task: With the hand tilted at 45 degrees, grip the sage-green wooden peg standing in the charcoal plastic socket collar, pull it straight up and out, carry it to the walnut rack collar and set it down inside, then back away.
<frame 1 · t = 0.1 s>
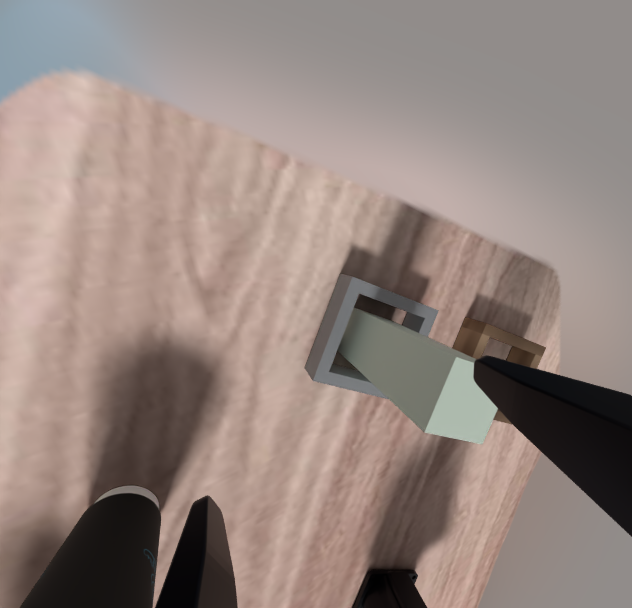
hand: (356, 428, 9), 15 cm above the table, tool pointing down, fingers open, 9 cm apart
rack: (479, 366, 31), on the table
socket: (364, 335, 26), on the table
dixie cup: (126, 510, 23), on the table
peg: (402, 359, 21), in the socket
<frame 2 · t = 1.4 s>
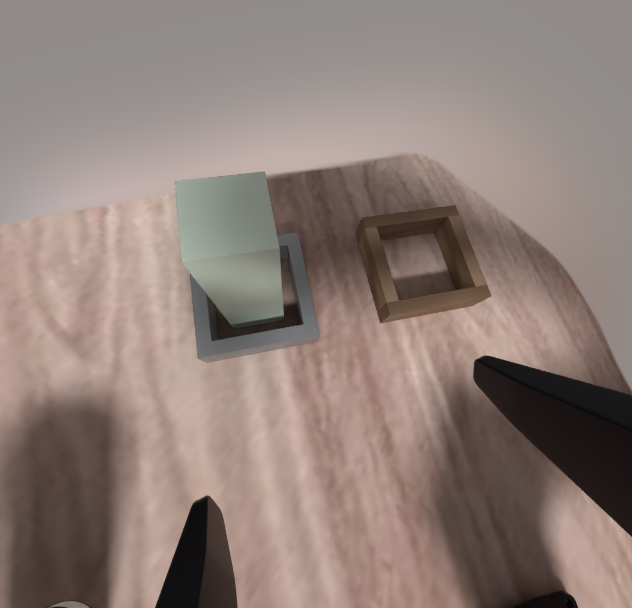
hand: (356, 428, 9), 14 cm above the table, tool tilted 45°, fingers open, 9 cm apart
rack: (412, 268, 26), on the table
socket: (255, 300, 24), on the table
peg: (245, 270, 19), in the socket
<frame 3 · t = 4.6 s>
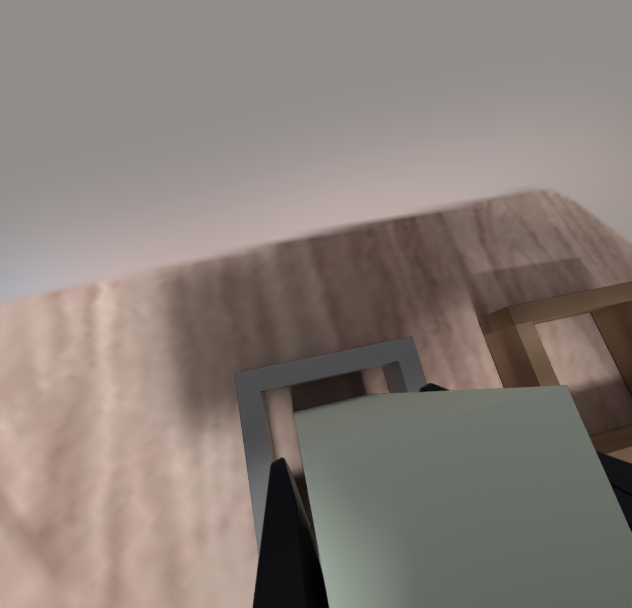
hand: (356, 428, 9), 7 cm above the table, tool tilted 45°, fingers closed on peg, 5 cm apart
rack: (570, 375, 17), on the table
socket: (339, 443, 15), on the table
peg: (370, 472, 9), in the socket, touching gripper
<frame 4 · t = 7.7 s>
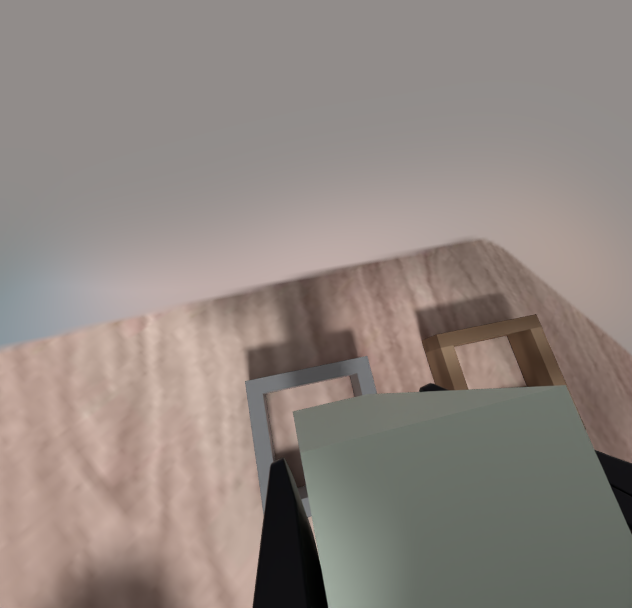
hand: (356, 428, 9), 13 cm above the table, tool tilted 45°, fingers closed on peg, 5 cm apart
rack: (487, 382, 24), on the table
socket: (317, 430, 21), on the table
peg: (369, 471, 9), point 13 cm above the table, touching gripper
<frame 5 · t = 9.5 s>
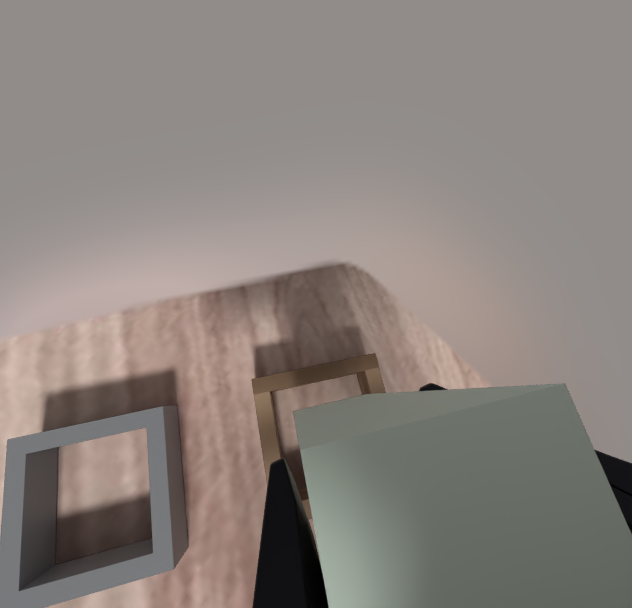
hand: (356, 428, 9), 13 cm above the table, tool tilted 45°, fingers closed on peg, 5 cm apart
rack: (324, 428, 21), on the table
socket: (113, 489, 19), on the table
peg: (369, 471, 9), point 12 cm above the table, touching gripper
when the fingers open (8 cm above the table, at t = 10.9 s): peg drops 1 cm, resting in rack.
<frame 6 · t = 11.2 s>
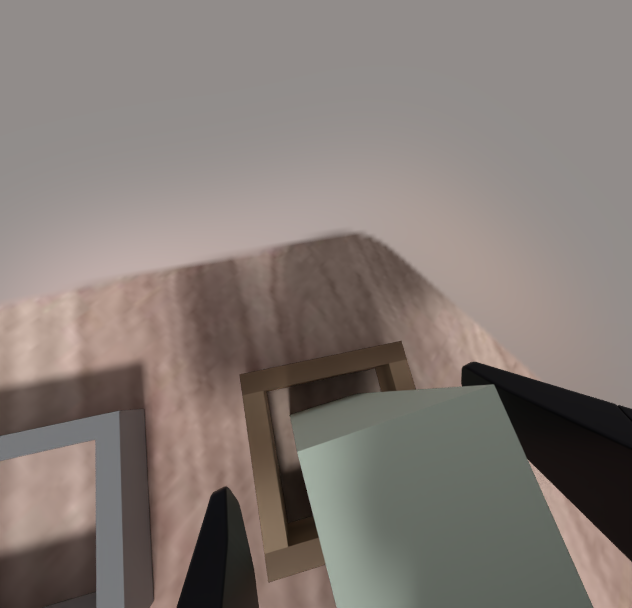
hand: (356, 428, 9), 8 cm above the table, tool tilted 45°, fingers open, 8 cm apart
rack: (335, 439, 16), on the table
socket: (54, 521, 14), on the table
peg: (360, 463, 11), in the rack
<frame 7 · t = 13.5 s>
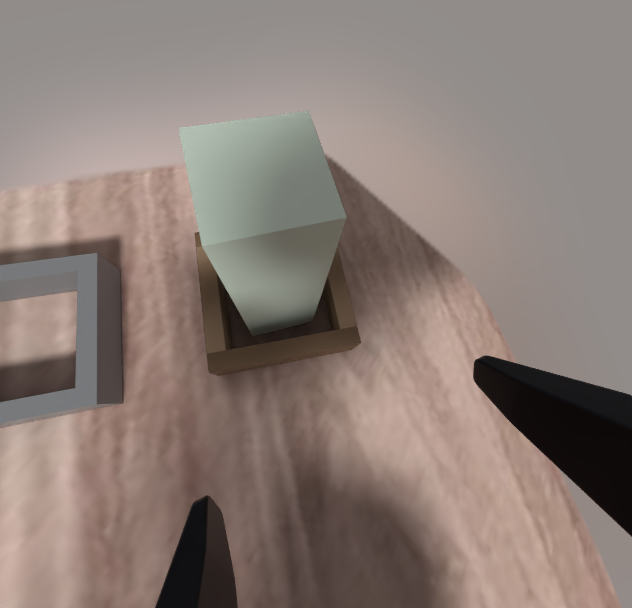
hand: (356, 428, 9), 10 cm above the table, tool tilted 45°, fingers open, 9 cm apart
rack: (276, 299, 20), on the table
socket: (45, 345, 18), on the table
peg: (271, 261, 14), in the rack
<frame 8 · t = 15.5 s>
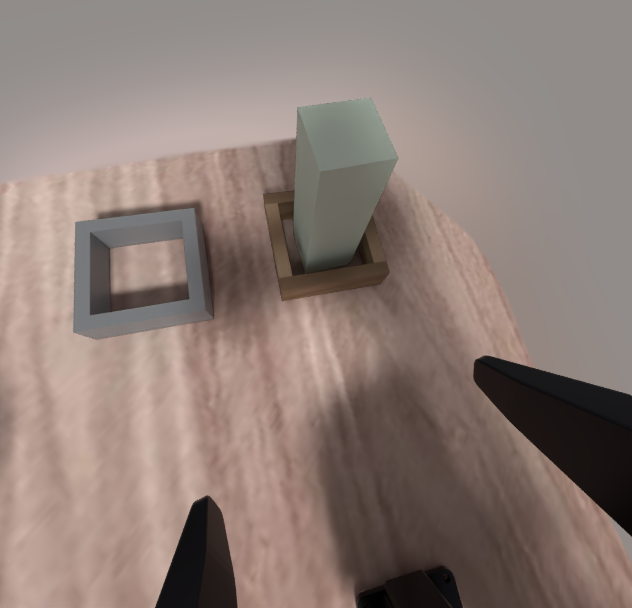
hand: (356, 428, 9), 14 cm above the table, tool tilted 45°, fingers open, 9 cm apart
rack: (321, 247, 26), on the table
socket: (153, 278, 24), on the table
peg: (330, 206, 20), in the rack
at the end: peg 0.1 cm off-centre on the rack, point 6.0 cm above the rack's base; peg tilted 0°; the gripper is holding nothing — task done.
